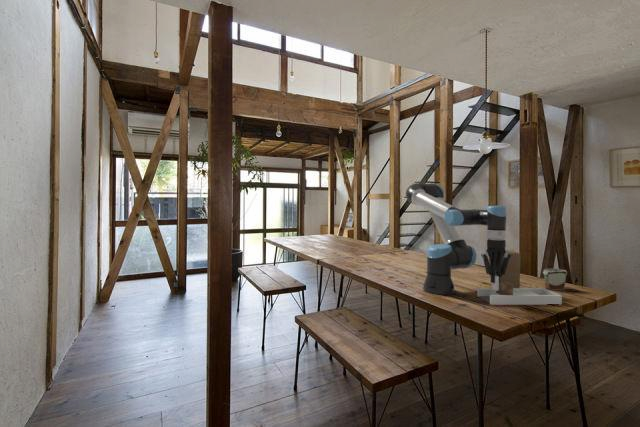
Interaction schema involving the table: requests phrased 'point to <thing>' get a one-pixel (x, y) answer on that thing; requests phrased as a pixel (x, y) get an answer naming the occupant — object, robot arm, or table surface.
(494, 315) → the table surface
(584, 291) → the table surface
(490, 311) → the table surface
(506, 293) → the walnut cube
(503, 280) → the wooden block
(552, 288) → the food container
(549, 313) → the table surface
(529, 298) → the white tray
